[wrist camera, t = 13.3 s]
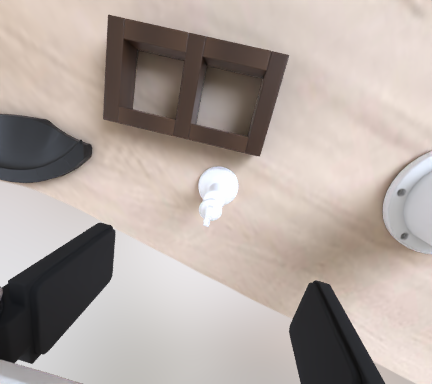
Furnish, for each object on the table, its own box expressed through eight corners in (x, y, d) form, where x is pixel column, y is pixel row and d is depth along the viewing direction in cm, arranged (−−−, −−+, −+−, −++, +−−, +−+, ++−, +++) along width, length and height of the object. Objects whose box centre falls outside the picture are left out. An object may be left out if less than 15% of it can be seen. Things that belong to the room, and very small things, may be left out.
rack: (282, 65, 21) (289, 54, 18) (257, 153, 24) (259, 156, 21) (125, 29, 21) (107, 14, 19) (118, 120, 24) (102, 119, 21)
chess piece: (242, 171, 24) (246, 198, 15) (232, 208, 26) (230, 254, 16) (203, 162, 25) (181, 182, 15) (195, 199, 26) (171, 239, 17)
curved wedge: (94, 190, 27) (86, 194, 26) (0, 175, 28) (-14, 177, 26) (91, 125, 25) (82, 125, 23) (-13, 110, 25) (-29, 109, 24)
